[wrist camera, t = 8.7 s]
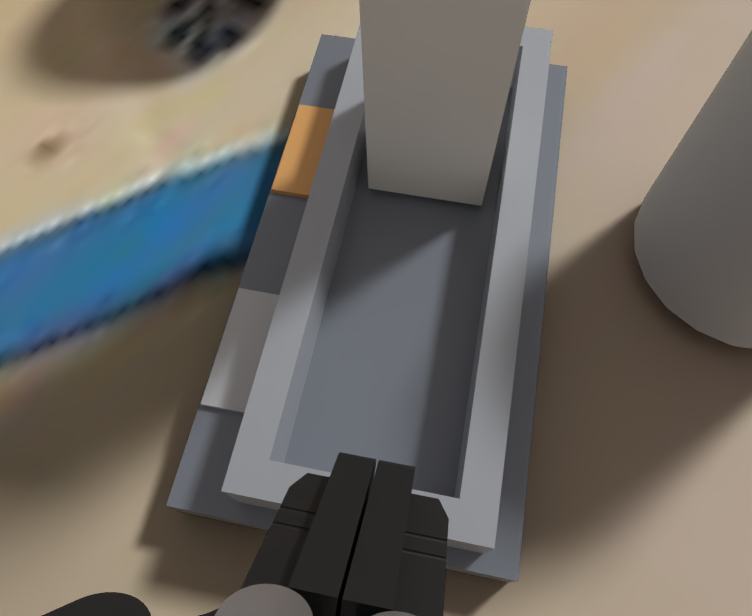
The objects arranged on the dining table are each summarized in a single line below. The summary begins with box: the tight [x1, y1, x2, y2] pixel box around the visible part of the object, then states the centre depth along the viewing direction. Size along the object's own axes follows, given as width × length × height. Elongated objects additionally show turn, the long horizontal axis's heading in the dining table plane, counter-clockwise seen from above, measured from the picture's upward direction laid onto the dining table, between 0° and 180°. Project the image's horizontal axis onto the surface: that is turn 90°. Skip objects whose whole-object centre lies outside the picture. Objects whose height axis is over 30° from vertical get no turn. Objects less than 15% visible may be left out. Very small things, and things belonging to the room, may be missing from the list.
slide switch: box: [166, 25, 567, 582], centre depth 21 cm, size 19×10×4 cm, turn 169°
